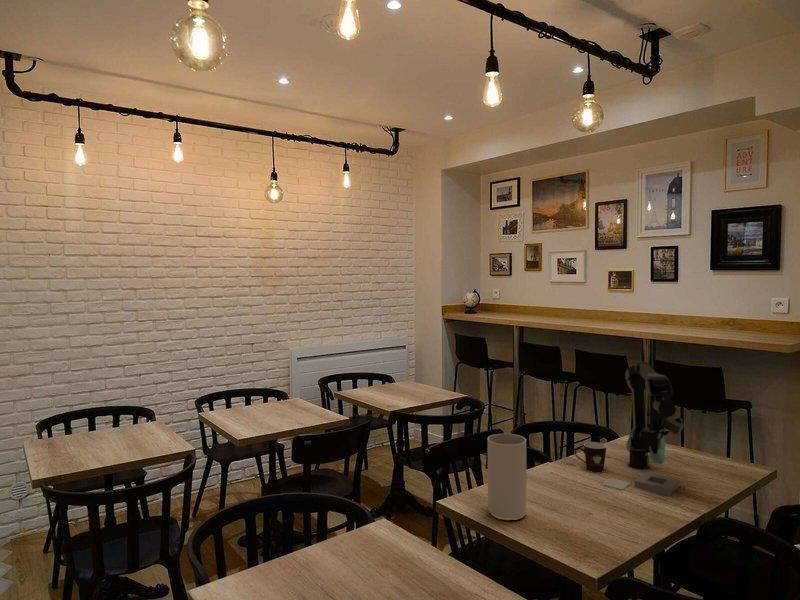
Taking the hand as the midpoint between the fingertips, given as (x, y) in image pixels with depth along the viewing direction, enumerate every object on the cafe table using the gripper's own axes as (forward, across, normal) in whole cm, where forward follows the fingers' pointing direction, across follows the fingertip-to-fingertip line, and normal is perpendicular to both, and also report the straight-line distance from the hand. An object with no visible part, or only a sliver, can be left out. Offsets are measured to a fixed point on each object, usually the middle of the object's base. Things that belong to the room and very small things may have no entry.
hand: (657, 452), depth 202 cm
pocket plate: (+13, 0, 0) cm, 13 cm away
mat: (+13, -8, +12) cm, 19 cm away
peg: (+4, 0, 0) cm, 4 cm away
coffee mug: (+13, +2, +26) cm, 29 cm away
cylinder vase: (+13, -56, +29) cm, 64 cm away
